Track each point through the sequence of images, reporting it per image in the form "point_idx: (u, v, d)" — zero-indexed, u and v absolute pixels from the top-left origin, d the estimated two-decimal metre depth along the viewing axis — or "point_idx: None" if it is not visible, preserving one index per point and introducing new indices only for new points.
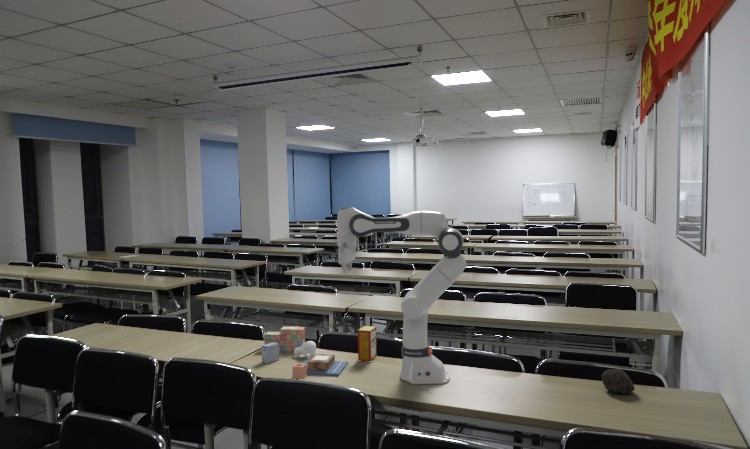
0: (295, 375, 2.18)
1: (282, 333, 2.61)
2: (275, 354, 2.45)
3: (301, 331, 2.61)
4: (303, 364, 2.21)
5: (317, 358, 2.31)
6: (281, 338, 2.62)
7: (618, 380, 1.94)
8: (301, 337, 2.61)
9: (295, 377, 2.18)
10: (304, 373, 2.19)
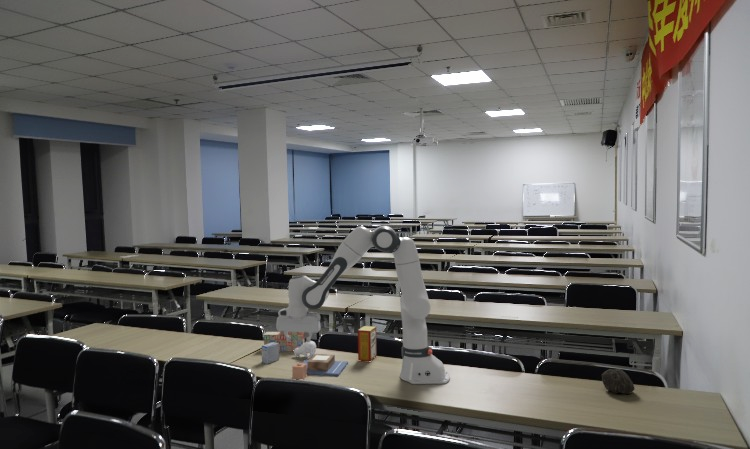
0: (295, 375, 2.18)
1: (282, 333, 2.62)
2: (275, 354, 2.45)
3: None
4: (303, 364, 2.21)
5: (317, 358, 2.31)
6: (281, 338, 2.62)
7: (618, 380, 1.94)
8: (301, 336, 2.62)
9: (295, 377, 2.18)
10: (304, 373, 2.19)
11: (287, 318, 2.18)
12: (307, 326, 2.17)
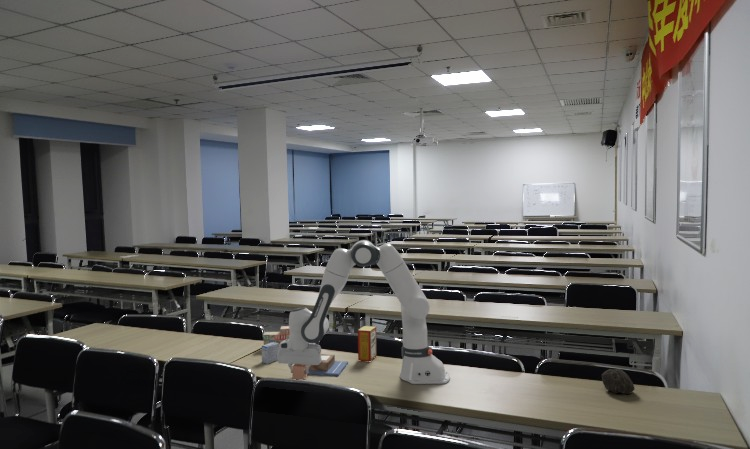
0: (295, 375, 2.18)
1: (282, 333, 2.62)
2: (275, 354, 2.45)
3: None
4: (303, 364, 2.21)
5: None
6: (280, 338, 2.62)
7: (618, 380, 1.94)
8: None
9: (295, 377, 2.18)
10: None
11: (288, 350, 2.18)
12: (308, 358, 2.17)
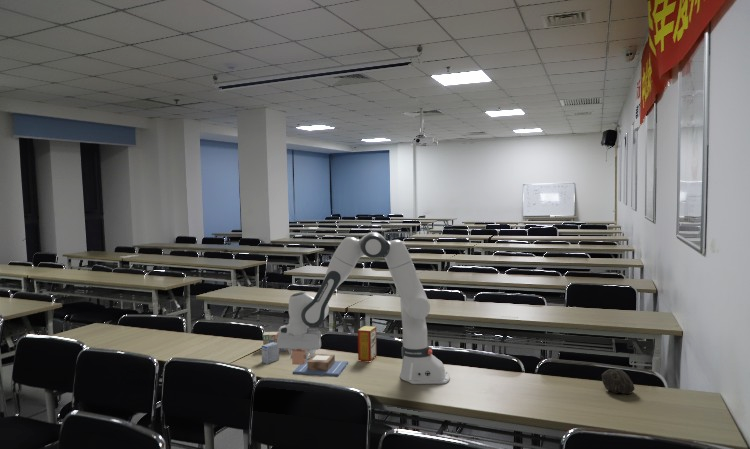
0: (294, 360, 2.18)
1: None
2: (275, 354, 2.45)
3: None
4: (303, 349, 2.20)
5: (317, 358, 2.31)
6: None
7: (618, 380, 1.94)
8: None
9: (295, 362, 2.18)
10: None
11: (288, 335, 2.18)
12: (308, 343, 2.17)
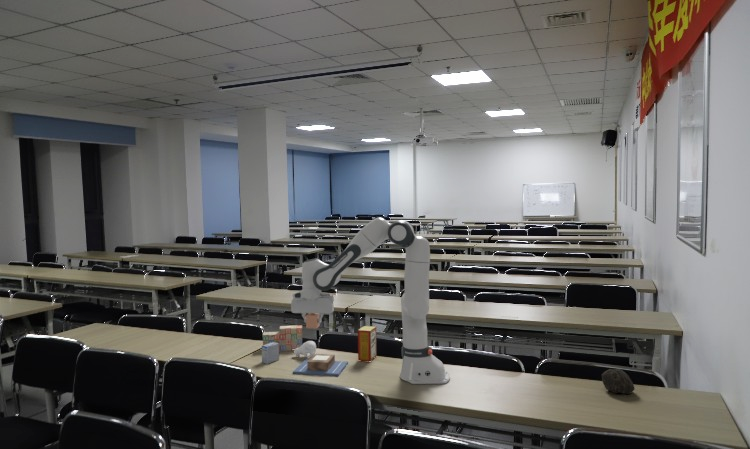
0: (308, 324, 2.25)
1: (281, 332, 2.63)
2: (275, 354, 2.45)
3: (301, 329, 2.64)
4: (316, 313, 2.27)
5: (317, 358, 2.31)
6: (280, 338, 2.63)
7: (618, 380, 1.94)
8: (301, 335, 2.64)
9: (309, 326, 2.25)
10: (317, 322, 2.26)
11: (301, 300, 2.25)
12: (321, 307, 2.24)
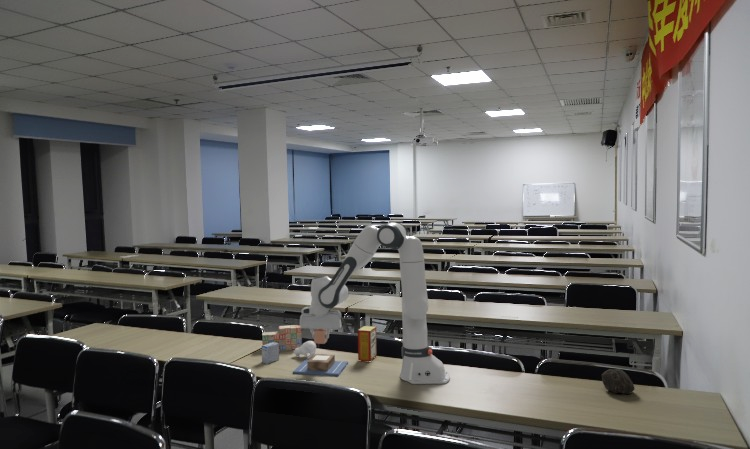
0: (316, 339, 2.30)
1: (281, 332, 2.63)
2: (275, 354, 2.45)
3: (300, 329, 2.65)
4: (324, 329, 2.33)
5: (317, 358, 2.31)
6: (280, 337, 2.63)
7: (618, 380, 1.94)
8: (300, 335, 2.65)
9: (316, 341, 2.30)
10: None
11: (310, 316, 2.30)
12: (329, 323, 2.29)
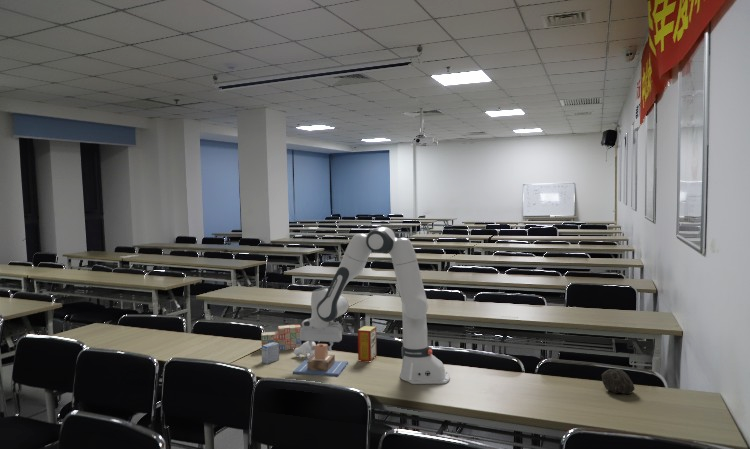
0: (317, 355, 2.30)
1: (281, 332, 2.63)
2: (275, 354, 2.45)
3: (300, 328, 2.66)
4: (324, 344, 2.33)
5: None
6: (279, 337, 2.63)
7: (618, 380, 1.94)
8: None
9: (317, 357, 2.30)
10: (325, 353, 2.31)
11: (310, 328, 2.31)
12: (329, 336, 2.29)
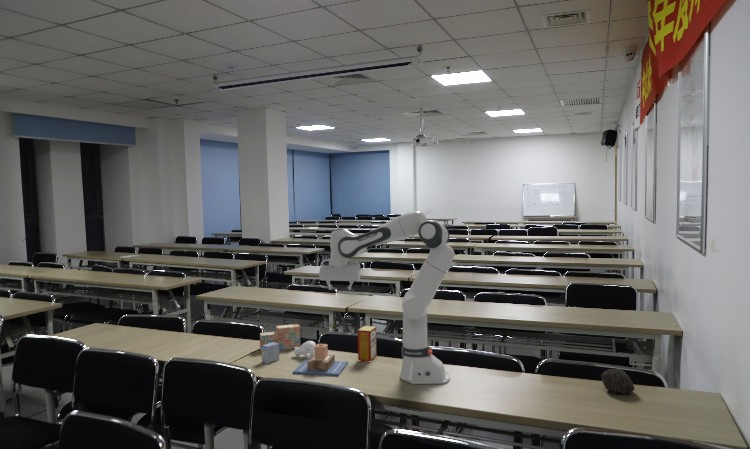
0: (317, 355, 2.30)
1: (280, 332, 2.64)
2: (275, 354, 2.45)
3: (299, 328, 2.68)
4: (324, 344, 2.33)
5: None
6: (279, 337, 2.63)
7: (618, 380, 1.94)
8: (299, 334, 2.67)
9: (317, 357, 2.30)
10: (325, 353, 2.31)
11: (329, 268, 2.35)
12: (348, 275, 2.34)
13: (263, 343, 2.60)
